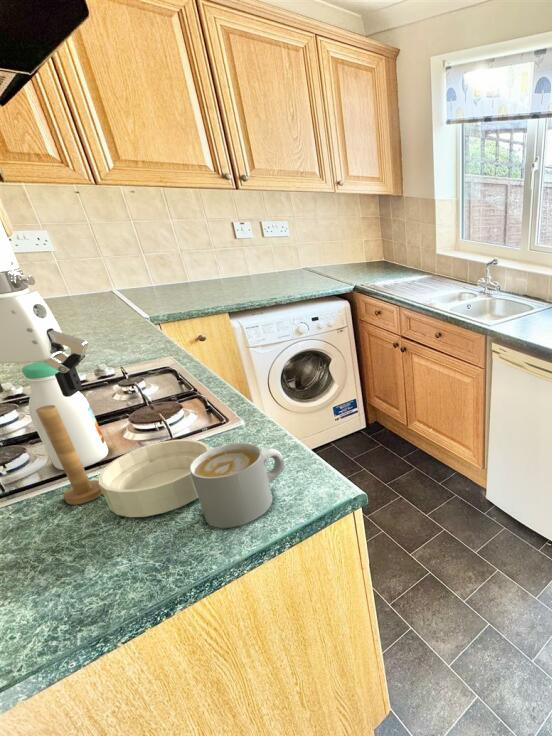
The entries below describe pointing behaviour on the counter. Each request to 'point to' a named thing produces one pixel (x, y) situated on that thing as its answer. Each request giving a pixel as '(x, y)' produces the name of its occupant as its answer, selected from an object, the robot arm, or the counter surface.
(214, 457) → the coffee mug
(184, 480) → the bowl
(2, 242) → the robot arm
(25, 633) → the counter surface
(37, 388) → the milk bottle
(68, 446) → the wooden masher
